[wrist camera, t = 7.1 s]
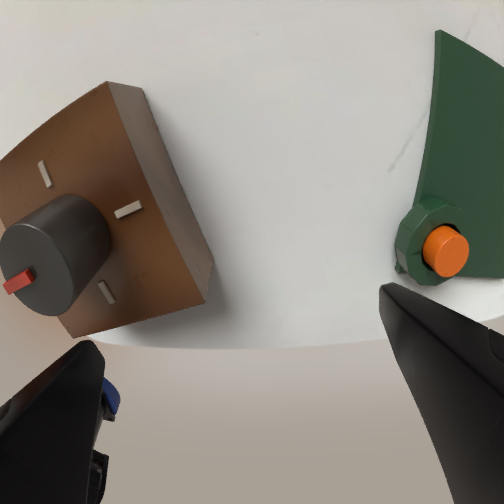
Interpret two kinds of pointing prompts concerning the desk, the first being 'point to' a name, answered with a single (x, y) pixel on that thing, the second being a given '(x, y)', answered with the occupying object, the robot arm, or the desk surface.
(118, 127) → the panel
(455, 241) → the button
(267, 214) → the desk surface
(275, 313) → the desk surface
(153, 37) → the desk surface
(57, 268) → the knob
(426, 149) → the green flat plate
